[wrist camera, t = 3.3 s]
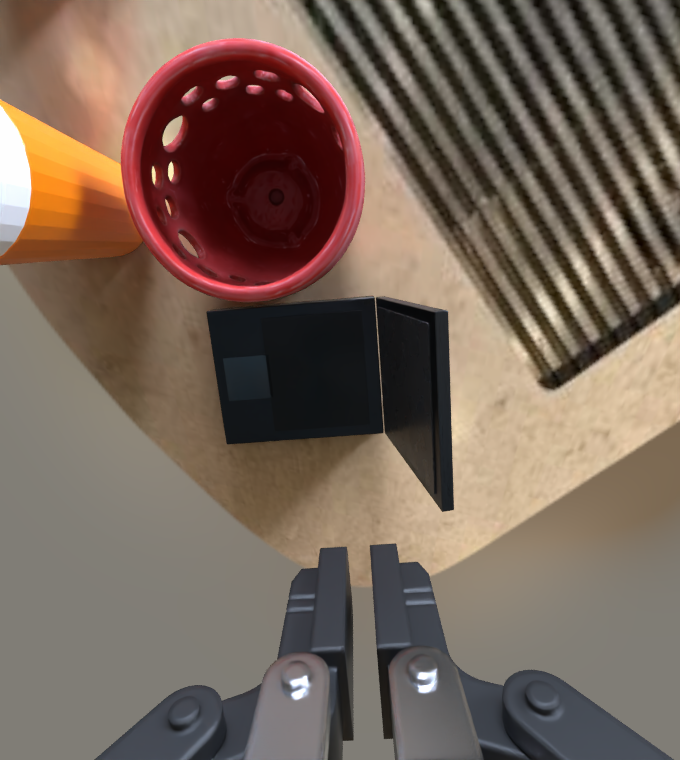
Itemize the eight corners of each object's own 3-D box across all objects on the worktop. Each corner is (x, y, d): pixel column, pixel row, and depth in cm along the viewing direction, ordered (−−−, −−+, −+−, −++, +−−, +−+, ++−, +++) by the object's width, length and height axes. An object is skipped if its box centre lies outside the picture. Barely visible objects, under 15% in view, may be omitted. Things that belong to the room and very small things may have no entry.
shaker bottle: (188, 227, 37) (4, 187, 17) (100, 291, 38) (-162, 320, 19) (115, 121, 35) (-181, -56, 15) (26, 191, 36) (-349, 110, 17)
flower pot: (291, 68, 34) (260, -33, 22) (394, 224, 36) (415, 207, 25) (154, 183, 36) (61, 145, 24) (261, 323, 38) (222, 350, 27)
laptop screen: (440, 512, 26) (454, 510, 26) (432, 312, 23) (448, 310, 23) (383, 433, 38) (393, 432, 39) (374, 297, 36) (384, 296, 36)
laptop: (231, 436, 41) (226, 445, 39) (212, 309, 38) (205, 311, 36) (382, 426, 40) (383, 433, 38) (373, 295, 38) (374, 297, 36)
